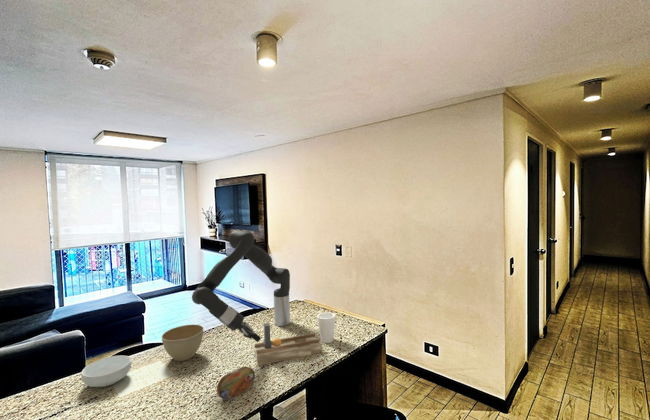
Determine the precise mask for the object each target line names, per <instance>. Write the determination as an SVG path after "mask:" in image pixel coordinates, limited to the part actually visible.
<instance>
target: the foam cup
mask: <svg viewBox="0 0 650 420" xmlns="http://www.w3.org/2000/svg"><path fill="white" fill-rule="evenodd" d="M316 317H317V318H316V319H317V325H318V330H319V335H320V341H321V342H322V343H323V344H324V343H325V344H330V343H333V342H334V335H335V325H336V324H335V323H336V314H335V313H333V312H330V311H329V312H326V311H324V312H320V313H318V314H317V316H316Z"/></svg>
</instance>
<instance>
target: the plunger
mask: <svg viewBox="0 0 650 420" xmlns="http://www.w3.org/2000/svg"><path fill="white" fill-rule="evenodd" d="M271 341H272V340H271V325H270V323H269V322H265V323H263V342H264V349H266V348H271Z"/></svg>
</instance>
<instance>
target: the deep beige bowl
mask: <svg viewBox="0 0 650 420" xmlns="http://www.w3.org/2000/svg"><path fill="white" fill-rule="evenodd" d="M203 336H204V327H203V325H201V324H185V325H180V326H176V327H173V328H171V329H168V330H167V331H165V332H164V333H163V334H162V335H161V342H162V344H163V347H164V350H165V351H166V353H167V354H168V355H169V356H170V358H171V359H173V360H175V361H176V362H184V361H189V360H190V359H191V358H193V357H194V356H195V355H196V353H197V352H198V350H199V348H200V346H201V344H202V340H203V338H204V337H203Z"/></svg>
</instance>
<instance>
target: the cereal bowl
mask: <svg viewBox="0 0 650 420" xmlns="http://www.w3.org/2000/svg"><path fill="white" fill-rule="evenodd" d="M131 368H132V357H130V356H128V355H122V354H121V355H113V356H108V357H104V358H101V359H98V360H96V361H93V362H91V363H90V364H87V365H86V366H85V367H84V368H83V369H82V371H81V373H80V374H81V380H82V382H83V384H85V385H86V386H88V387H90V388H91V387H92V388H103V387H105V388H106V387H109V386H111V385H114V384H115V383H117V382H119V381H120V380H122V379H123V378H125V376H127V374H128V373H129V372H130V370H131Z"/></svg>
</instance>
